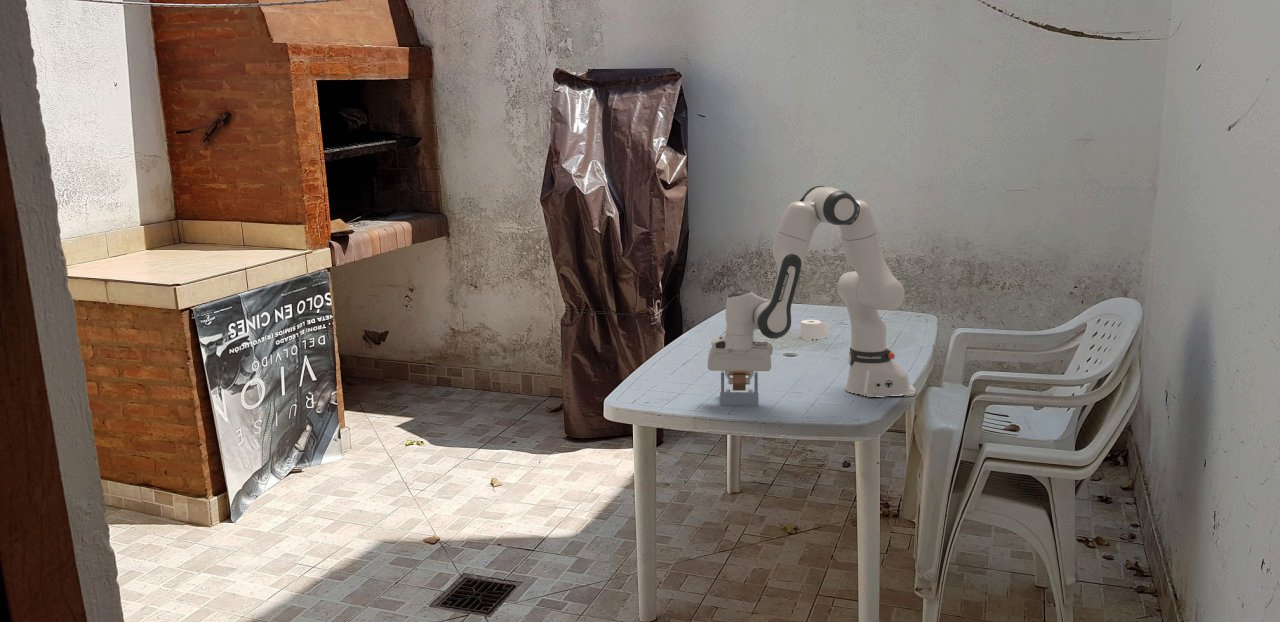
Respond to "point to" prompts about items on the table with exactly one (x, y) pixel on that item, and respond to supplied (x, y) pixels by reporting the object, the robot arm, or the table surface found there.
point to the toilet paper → (814, 329)
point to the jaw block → (739, 381)
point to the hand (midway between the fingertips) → (739, 384)
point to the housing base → (739, 395)
